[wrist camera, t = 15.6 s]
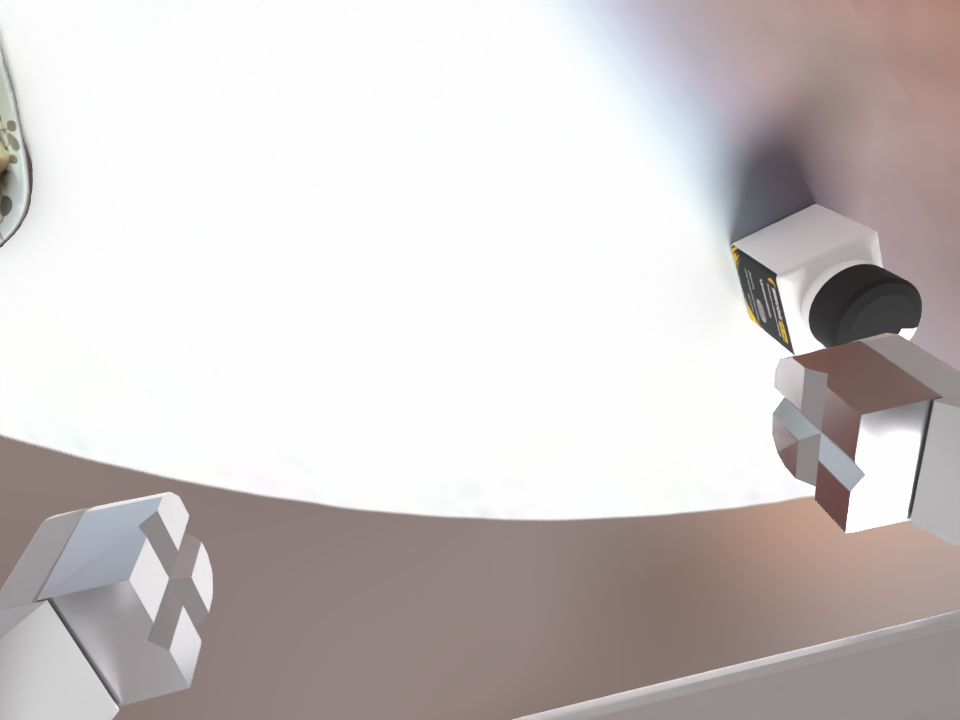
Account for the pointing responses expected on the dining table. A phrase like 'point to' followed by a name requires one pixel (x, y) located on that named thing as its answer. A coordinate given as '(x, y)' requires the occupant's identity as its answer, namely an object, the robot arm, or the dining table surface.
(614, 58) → the dining table surface
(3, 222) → the salad plate
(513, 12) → the dining table surface
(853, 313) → the medicine bottle
